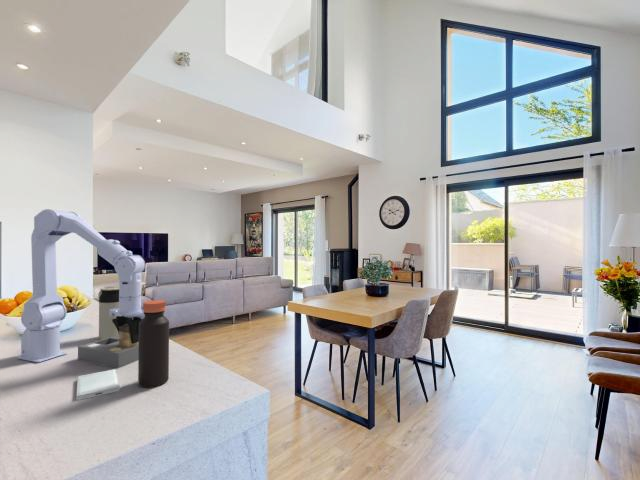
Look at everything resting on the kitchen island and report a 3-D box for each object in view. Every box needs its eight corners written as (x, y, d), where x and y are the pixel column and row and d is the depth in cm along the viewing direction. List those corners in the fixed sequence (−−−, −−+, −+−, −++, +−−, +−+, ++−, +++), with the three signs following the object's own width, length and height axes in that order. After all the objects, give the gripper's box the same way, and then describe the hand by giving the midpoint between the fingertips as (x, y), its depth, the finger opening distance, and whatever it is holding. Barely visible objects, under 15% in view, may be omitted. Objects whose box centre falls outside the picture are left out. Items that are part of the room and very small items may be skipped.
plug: (119, 353, 95) (119, 326, 95) (129, 349, 99) (130, 323, 99) (128, 354, 94) (128, 327, 94) (138, 350, 98) (139, 324, 98)
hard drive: (77, 376, 82) (76, 395, 72) (115, 368, 86) (119, 386, 76) (77, 382, 82) (76, 403, 72) (115, 375, 86) (119, 393, 76)
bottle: (169, 374, 85) (170, 298, 85) (167, 385, 79) (168, 303, 79) (140, 378, 83) (141, 300, 83) (135, 390, 77) (136, 305, 77)
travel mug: (93, 339, 114) (93, 288, 114) (113, 333, 122) (114, 285, 122) (110, 341, 112) (111, 289, 112) (130, 335, 119) (130, 286, 119)
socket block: (77, 360, 95) (78, 345, 95) (118, 346, 107) (118, 333, 107) (118, 367, 90) (118, 352, 90) (156, 352, 102) (156, 339, 102)
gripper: (99, 296, 95) (99, 342, 95) (137, 300, 91) (136, 348, 91) (121, 293, 102) (121, 336, 102) (157, 296, 97) (157, 341, 97)
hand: (129, 341), depth 97 cm, fingers closed on plug, 3 cm apart
